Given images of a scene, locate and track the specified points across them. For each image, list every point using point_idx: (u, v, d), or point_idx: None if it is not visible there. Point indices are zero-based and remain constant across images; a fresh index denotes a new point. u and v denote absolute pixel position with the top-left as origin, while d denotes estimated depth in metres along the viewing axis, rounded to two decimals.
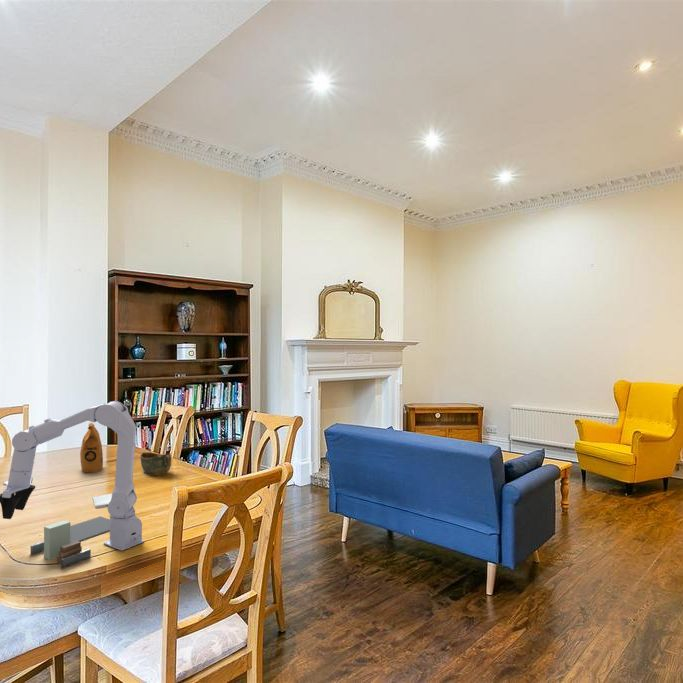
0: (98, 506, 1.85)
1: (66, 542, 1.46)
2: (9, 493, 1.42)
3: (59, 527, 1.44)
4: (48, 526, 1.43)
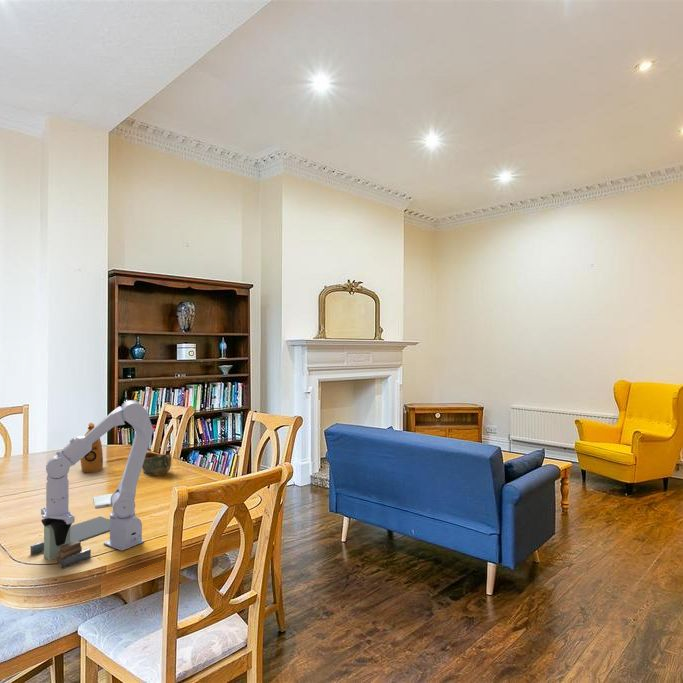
0: (98, 506, 1.85)
1: (66, 542, 1.46)
2: (73, 518, 1.42)
3: None
4: (48, 526, 1.43)
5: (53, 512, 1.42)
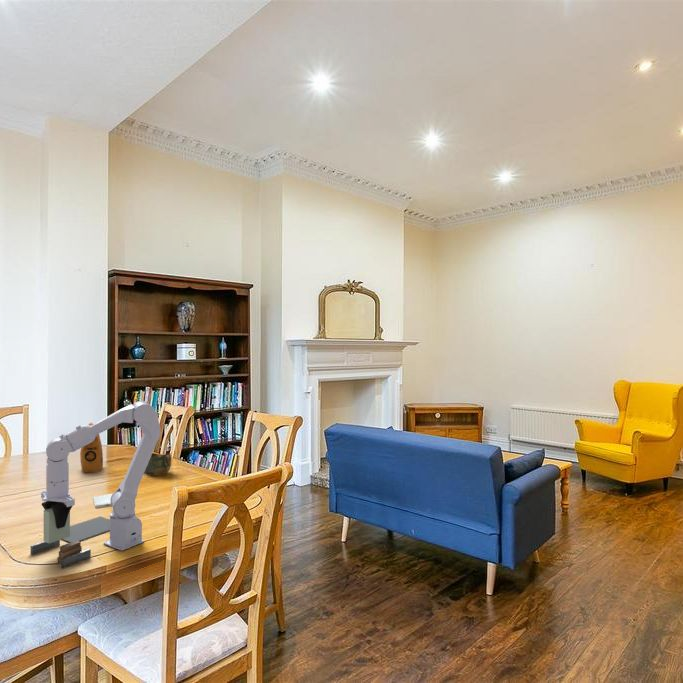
0: (98, 506, 1.85)
1: (66, 526, 1.46)
2: (73, 500, 1.42)
3: None
4: (47, 510, 1.43)
5: (53, 495, 1.42)
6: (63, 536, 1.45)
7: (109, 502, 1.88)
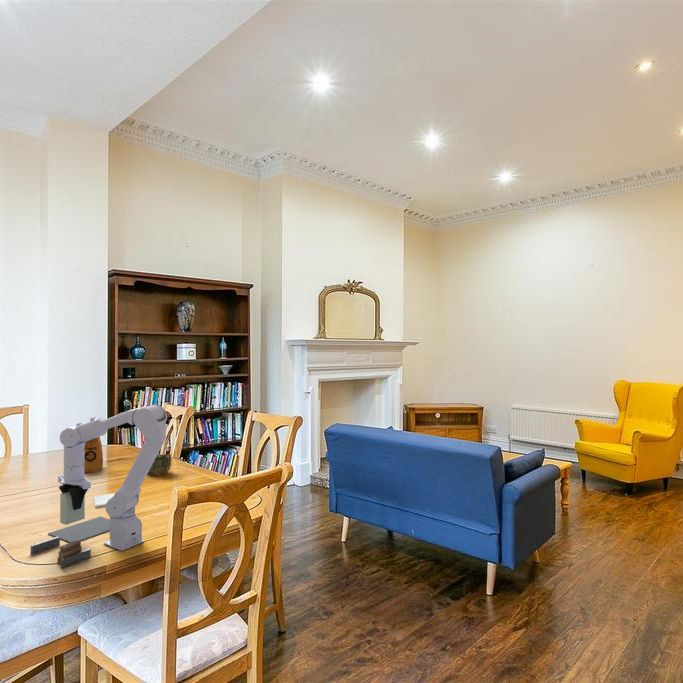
0: (98, 506, 1.85)
1: (81, 509, 1.55)
2: (90, 483, 1.51)
3: None
4: (64, 494, 1.52)
5: (70, 478, 1.52)
6: (78, 518, 1.54)
7: None
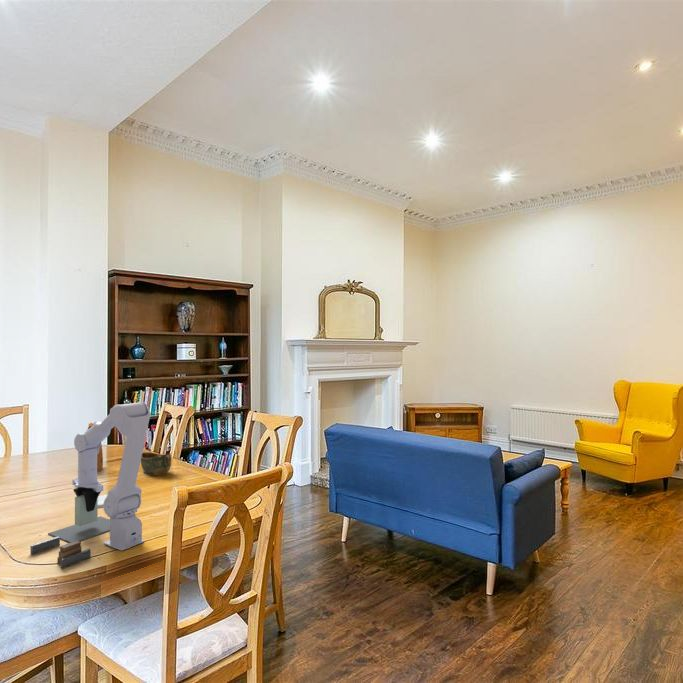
0: (98, 506, 1.85)
1: (94, 511, 1.64)
2: (102, 487, 1.60)
3: None
4: (78, 497, 1.61)
5: (84, 482, 1.61)
6: (92, 520, 1.63)
7: None
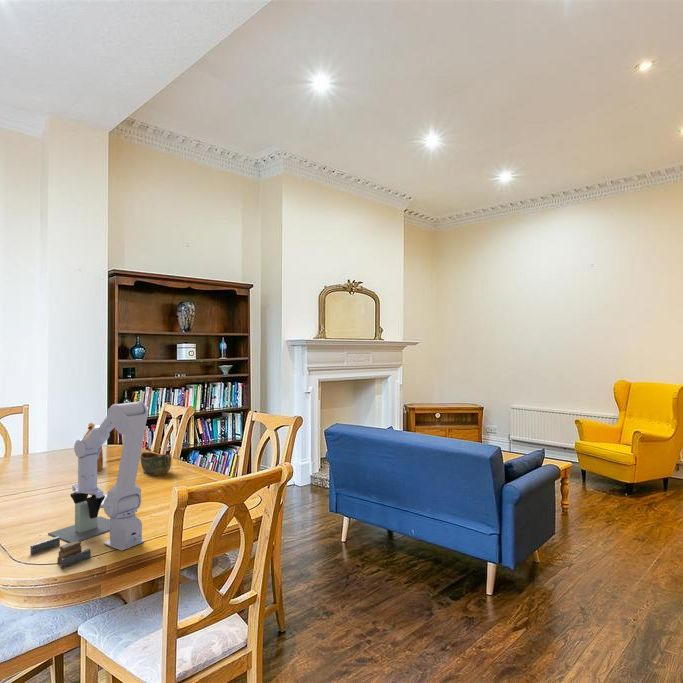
0: None
1: (94, 518, 1.64)
2: (102, 492, 1.60)
3: None
4: (78, 503, 1.61)
5: (84, 487, 1.61)
6: (92, 527, 1.63)
7: None
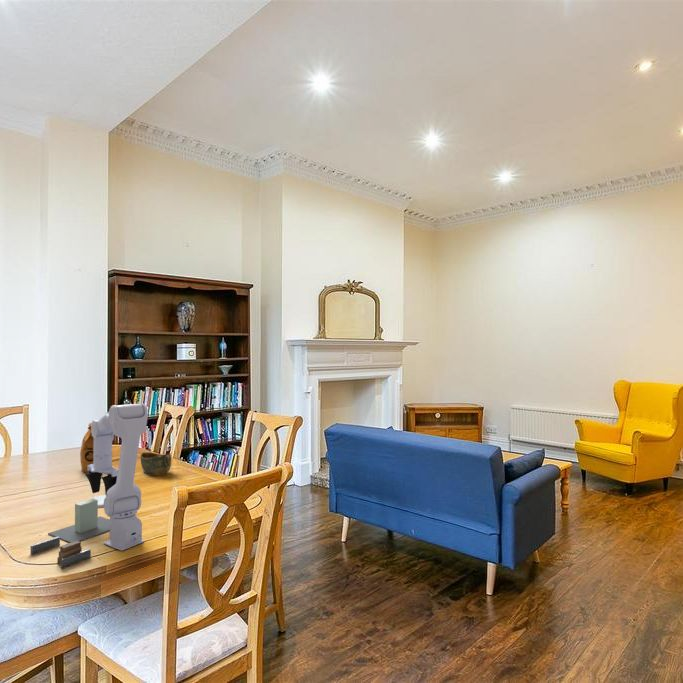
0: (98, 506, 1.85)
1: (94, 518, 1.64)
2: (117, 471, 1.65)
3: (88, 504, 1.62)
4: (78, 503, 1.61)
5: (100, 467, 1.65)
6: (92, 527, 1.63)
7: None
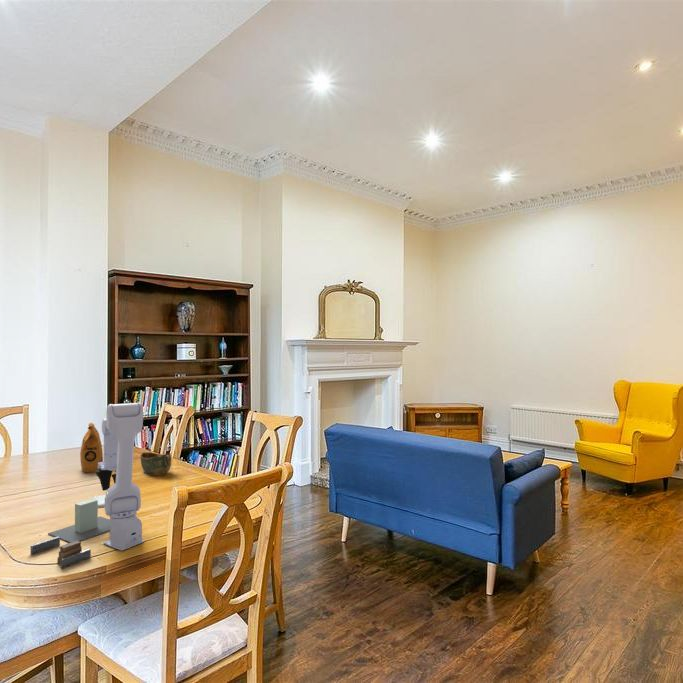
0: (98, 506, 1.85)
1: (94, 518, 1.64)
2: None
3: (88, 504, 1.62)
4: (78, 503, 1.61)
5: (110, 465, 1.68)
6: (92, 527, 1.63)
7: None
